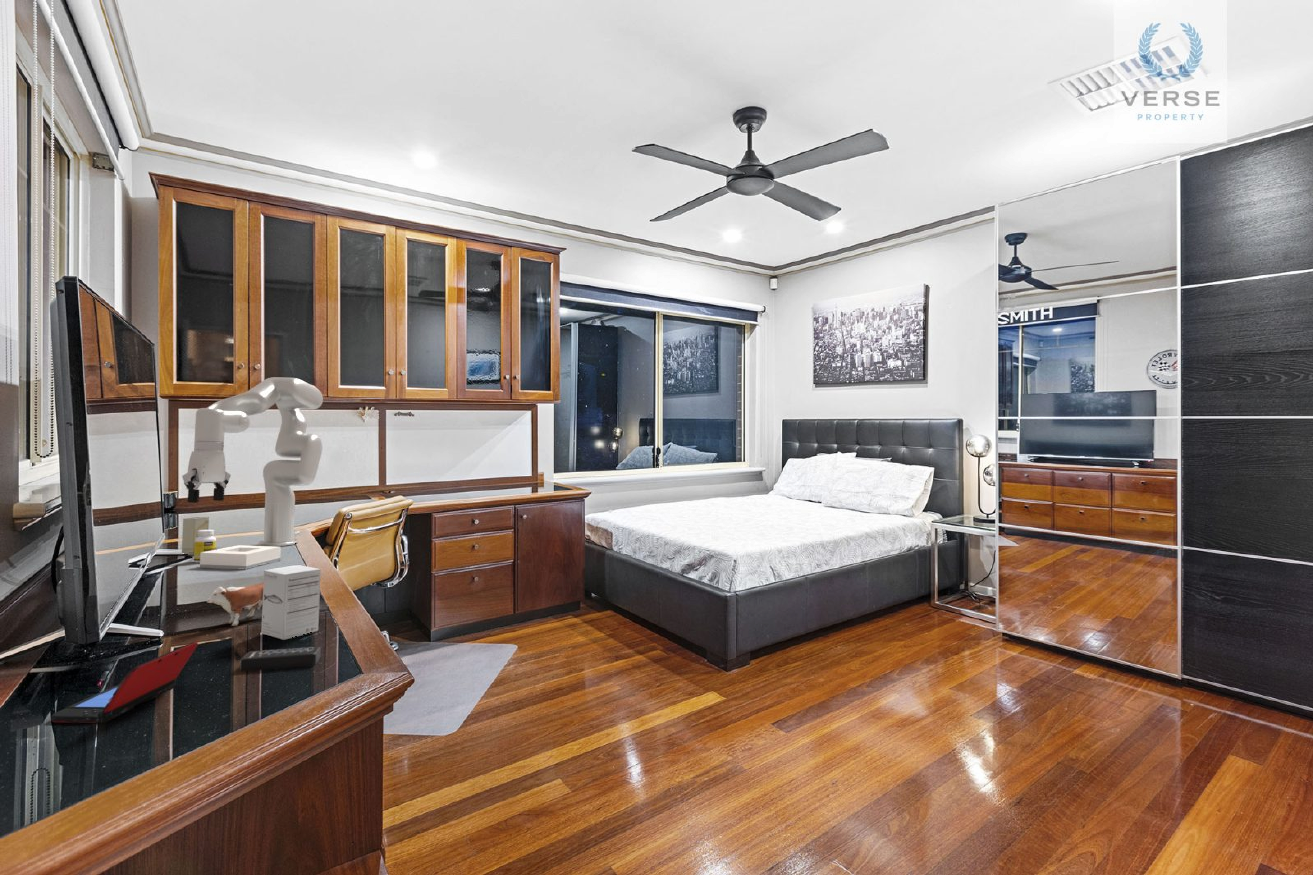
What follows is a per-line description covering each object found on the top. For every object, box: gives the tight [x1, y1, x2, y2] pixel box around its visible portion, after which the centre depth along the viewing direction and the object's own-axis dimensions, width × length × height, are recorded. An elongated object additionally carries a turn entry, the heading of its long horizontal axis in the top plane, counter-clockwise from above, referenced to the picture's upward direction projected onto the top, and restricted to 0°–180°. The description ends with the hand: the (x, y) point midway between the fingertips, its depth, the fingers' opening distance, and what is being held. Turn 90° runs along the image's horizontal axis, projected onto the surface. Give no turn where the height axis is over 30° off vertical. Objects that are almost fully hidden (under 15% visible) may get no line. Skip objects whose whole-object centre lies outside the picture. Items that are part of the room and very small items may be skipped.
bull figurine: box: [206, 581, 264, 627], centre depth 126 cm, size 4×13×8 cm, turn 163°
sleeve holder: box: [199, 544, 282, 570], centre depth 186 cm, size 15×15×4 cm
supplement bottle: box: [193, 529, 217, 564], centre depth 189 cm, size 5×5×10 cm
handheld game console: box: [50, 641, 199, 724], centre depth 85 cm, size 12×11×7 cm
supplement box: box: [260, 564, 322, 641], centre depth 119 cm, size 7×7×13 cm
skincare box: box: [181, 516, 210, 556], centre depth 202 cm, size 6×4×12 cm
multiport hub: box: [239, 646, 322, 672], centre depth 102 cm, size 4×11×2 cm, turn 108°
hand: (206, 501), depth 189 cm, fingers open, 9 cm apart
